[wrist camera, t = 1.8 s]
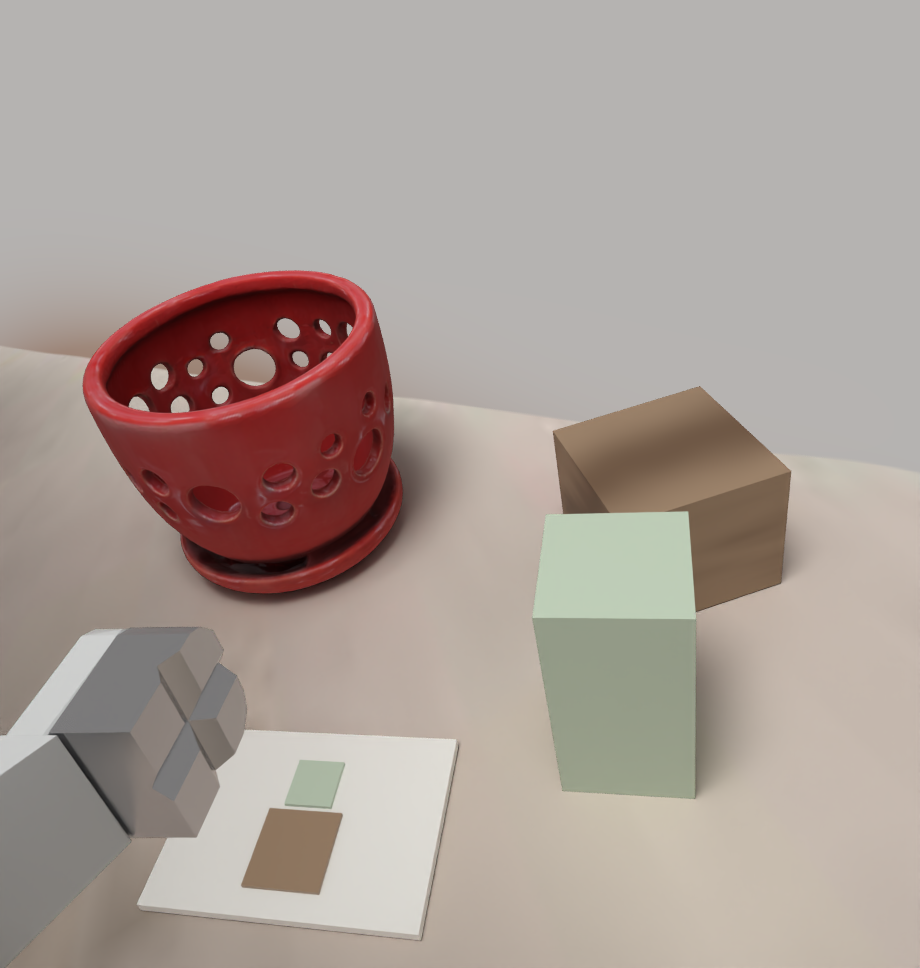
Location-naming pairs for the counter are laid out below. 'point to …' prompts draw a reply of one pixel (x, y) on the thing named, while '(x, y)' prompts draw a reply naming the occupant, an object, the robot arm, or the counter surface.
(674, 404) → the walnut base
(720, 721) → the counter surface
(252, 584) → the plant pot
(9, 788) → the robot arm
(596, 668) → the sage brick
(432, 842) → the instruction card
